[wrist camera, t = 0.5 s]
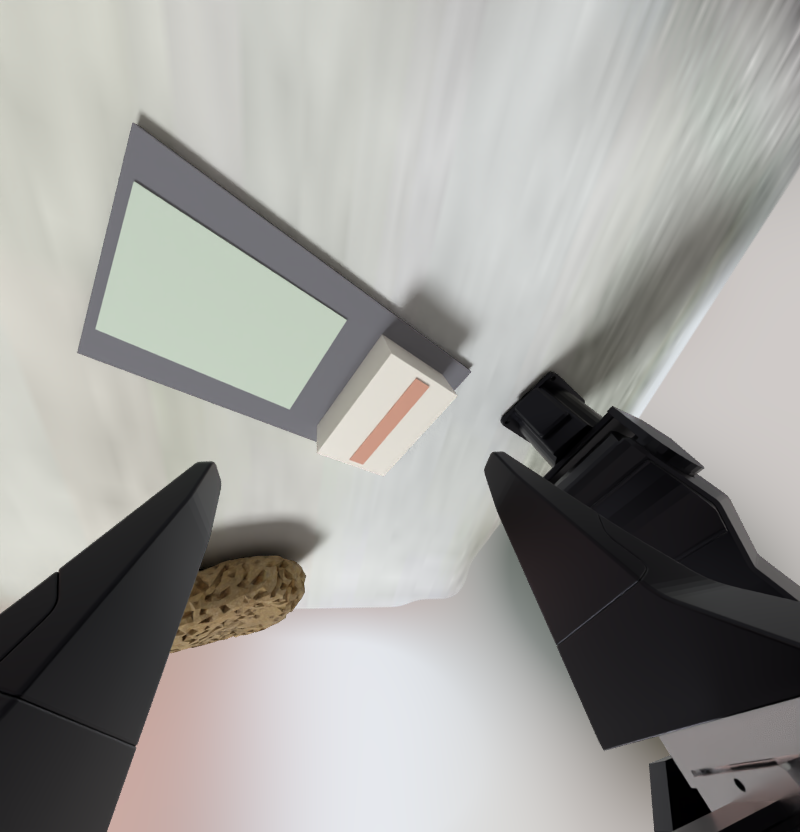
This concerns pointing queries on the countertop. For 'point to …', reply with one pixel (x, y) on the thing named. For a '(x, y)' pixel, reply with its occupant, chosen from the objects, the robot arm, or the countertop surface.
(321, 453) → the card box
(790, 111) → the countertop surface
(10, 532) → the countertop surface
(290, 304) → the mat
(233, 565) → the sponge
